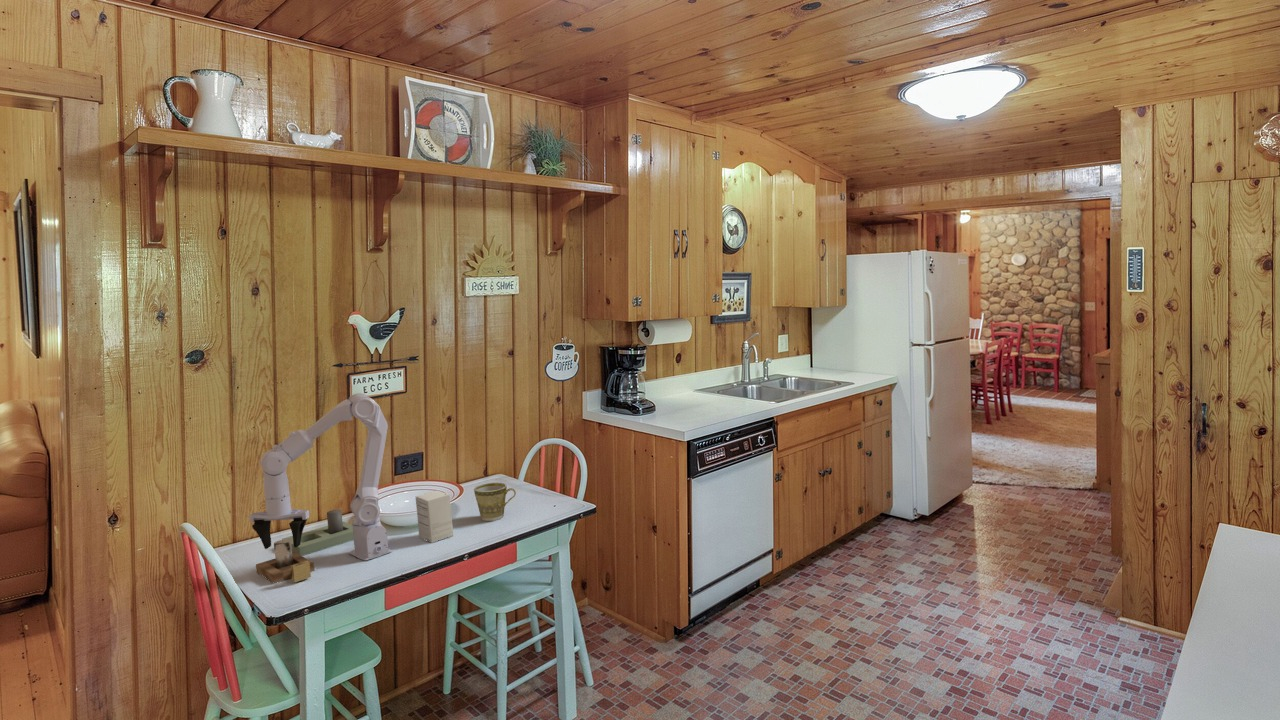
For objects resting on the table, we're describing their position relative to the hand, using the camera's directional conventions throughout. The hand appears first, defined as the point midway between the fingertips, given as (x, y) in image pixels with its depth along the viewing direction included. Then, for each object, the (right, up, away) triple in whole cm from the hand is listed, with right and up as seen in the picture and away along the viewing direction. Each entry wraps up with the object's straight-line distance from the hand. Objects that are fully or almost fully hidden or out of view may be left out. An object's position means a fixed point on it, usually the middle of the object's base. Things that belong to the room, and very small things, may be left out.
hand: (282, 546), depth 184 cm
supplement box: (+34, -3, +21) cm, 40 cm away
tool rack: (+1, -4, +22) cm, 22 cm away
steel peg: (0, -7, +1) cm, 7 cm away
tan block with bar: (+5, -6, -4) cm, 9 cm away
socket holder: (0, -7, +1) cm, 7 cm away
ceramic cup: (+49, -1, +36) cm, 61 cm away
